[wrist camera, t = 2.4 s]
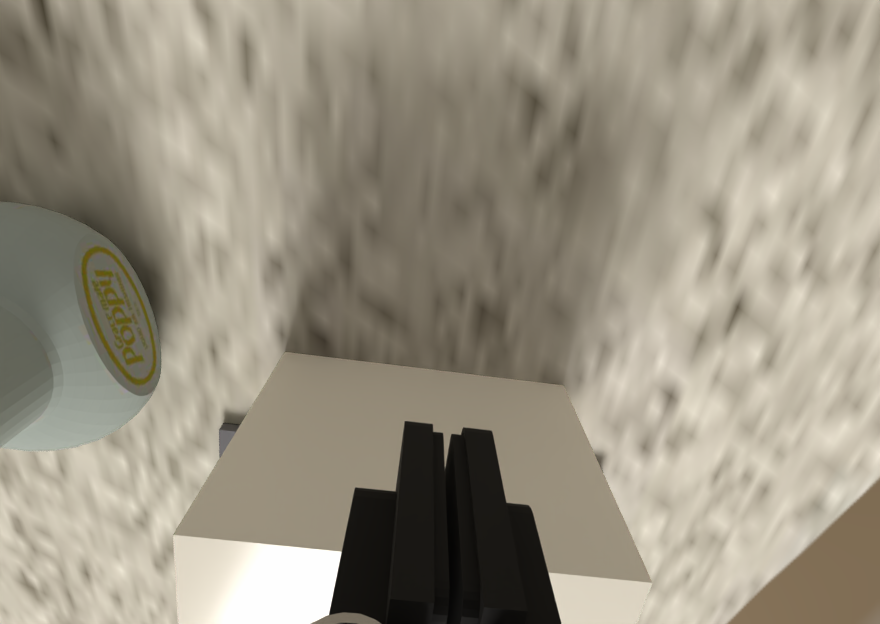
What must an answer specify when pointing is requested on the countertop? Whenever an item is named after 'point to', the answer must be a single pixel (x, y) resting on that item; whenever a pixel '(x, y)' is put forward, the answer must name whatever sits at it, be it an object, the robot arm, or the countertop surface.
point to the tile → (389, 489)
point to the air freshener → (69, 333)
